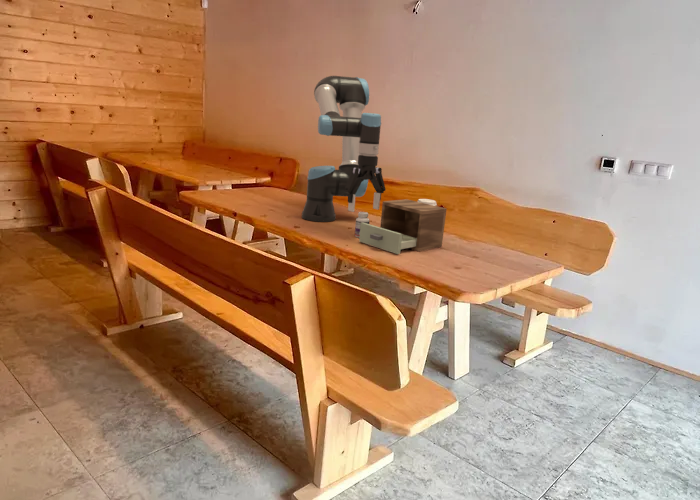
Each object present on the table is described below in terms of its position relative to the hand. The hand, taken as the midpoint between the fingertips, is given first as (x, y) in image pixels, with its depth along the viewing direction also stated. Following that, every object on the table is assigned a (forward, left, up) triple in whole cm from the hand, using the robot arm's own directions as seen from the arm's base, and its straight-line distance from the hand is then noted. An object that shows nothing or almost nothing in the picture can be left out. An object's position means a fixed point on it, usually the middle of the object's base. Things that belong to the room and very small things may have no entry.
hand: (363, 210), depth 204 cm
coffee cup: (+11, +25, -11) cm, 29 cm away
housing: (+16, +11, -11) cm, 22 cm away
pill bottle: (0, 0, -11) cm, 11 cm away
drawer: (+16, -1, -10) cm, 19 cm away
